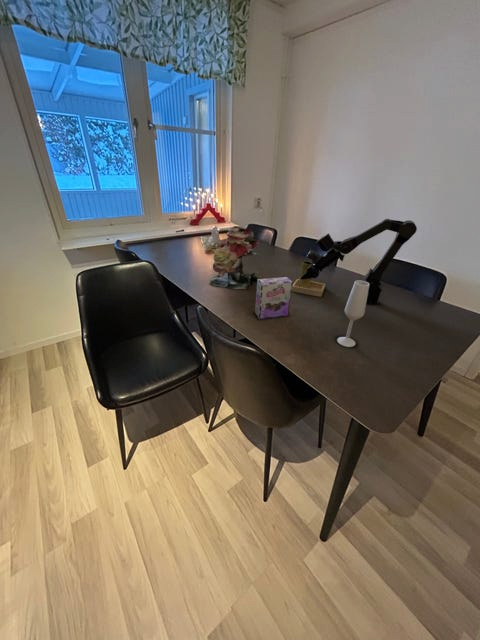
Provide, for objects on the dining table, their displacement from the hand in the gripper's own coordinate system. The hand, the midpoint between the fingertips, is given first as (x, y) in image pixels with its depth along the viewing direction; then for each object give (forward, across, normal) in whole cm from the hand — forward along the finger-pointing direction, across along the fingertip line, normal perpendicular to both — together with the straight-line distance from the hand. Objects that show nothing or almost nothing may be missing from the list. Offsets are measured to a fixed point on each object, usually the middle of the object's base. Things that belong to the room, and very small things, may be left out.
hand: (302, 276), depth 143 cm
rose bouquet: (+31, +8, -21) cm, 38 cm away
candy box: (+9, +35, +1) cm, 36 cm away
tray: (+2, 0, +8) cm, 8 cm away
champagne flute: (-14, +43, +24) cm, 51 cm away
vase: (+4, 0, +6) cm, 7 cm away
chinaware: (+63, -49, -52) cm, 96 cm away
